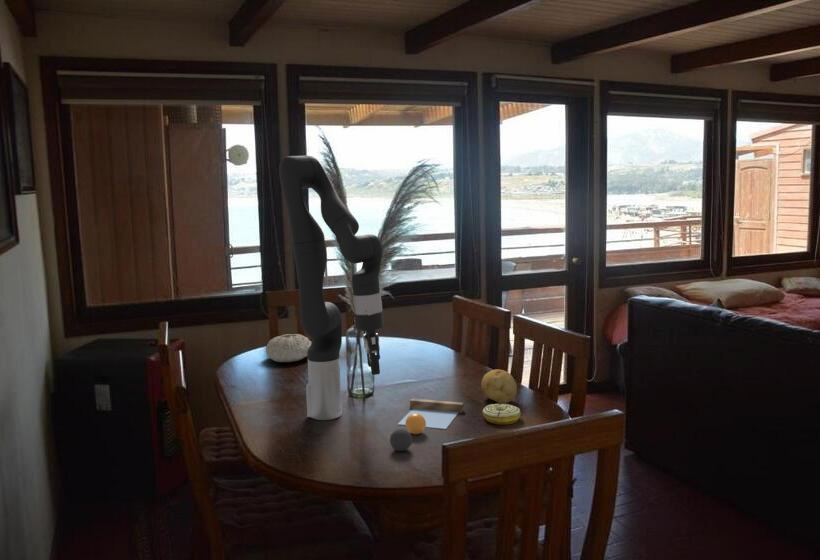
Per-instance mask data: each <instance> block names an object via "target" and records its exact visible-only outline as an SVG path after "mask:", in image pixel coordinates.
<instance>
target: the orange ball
mask: <svg viewBox="0 0 820 560" xmlns="http://www.w3.org/2000/svg"><path fill="white" fill-rule="evenodd" d="M405 425H406V426H405ZM405 425H404V426H405V428H406V430H407V431H408V432H409V433H410V434H412V435H419V434H421V433H422V432H424V430H425V429H426V421H425V419H424V417H423V416H422V415H420V414H418V413H413V414H411V415H409V416H408V417H407V419H406V423H405Z"/></svg>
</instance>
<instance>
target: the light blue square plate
mask: <svg viewBox="0 0 820 560" xmlns="http://www.w3.org/2000/svg"><path fill="white" fill-rule="evenodd" d="M413 413H418V414H420V415H422V416H423V417H424V419H425V421H426V427H425V429H426V428H427V429H439V430H447V429H448V427H449V426H450V425H451V424H452V422H453V421H454V420H455V418H456V417H457V416H458V415H459V414H460V413H459V412H451V411H440V410H429V409H417V408H413V409H410V411H409V412H408V413H407V414H405V416H403V418H402V419H401V420H400V421H399V422H398V423H397V426H405V427H406V425H405V423H406V419H407V417H408V416H409V415H411V414H413Z"/></svg>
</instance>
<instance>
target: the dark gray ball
mask: <svg viewBox="0 0 820 560" xmlns="http://www.w3.org/2000/svg"><path fill="white" fill-rule="evenodd" d="M412 442H413V438H412V435H411V433H410V432H409V431H408V430H407V429H405V428H397V429H395V430H393V432H392V433H391V435H390V436H389V443H390V446H391V447H392V448H393V450H395V451H398V452H404V451H407V450H409V448H410V447H411V445H412Z"/></svg>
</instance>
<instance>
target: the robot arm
mask: <svg viewBox="0 0 820 560" xmlns="http://www.w3.org/2000/svg"><path fill="white" fill-rule="evenodd" d="M278 167H279V168H278V172H279V173H278V174H279V175H278V176H279V181H280V186H281V191H282V194H283V198H284V203H285V206H286V211H287V215H288V216H287V217H288V223H289V227H290V229H289V230H290V234H291V236H290V237H291V244H292V250H293V257H294V258H293V259H294V262H295V269H296V275H297V277H296V278H297V284H298V293H299V309H300V311H299V312H300V313H299V314H300V323H301V328H302V330H303V331H304V333H305V334H306V335H307V336H309V337H310V338H312V341H311V342H312V343H311V345H310V347H309V349H308V351H307V356H306V357H307V372H308V373H307V375H308V376H307V377H308V383H307V384H306V386H305V389H306V390H305V392H306V393H305V394H306V396H305V397H306V413H307V414H306V417H307V418H311V419H314V420H316V421H317V420H318V421H331V420H335V419H337V418H340V417H341V416H342V414H343V413H342V411H343V409H342V408H343V407H342V387H341V386H342V384H341V361H340V359H341V358H340V356H341V355H340V351H341V348H342V345H343V343H342V342H343V341H342V340H343V339H342V338H343V335H342V334H343V333H342V332H343V331H342V330H343V326H342V325H343V323H342V322H343V321H342V314H341V312H340V309H339V308H338V306H337V305H336V304H334V303H332V302H330V301H325V297H324V296H325V295H324V280H325V279H324V278H325V274H326V268H327V263H328V262H327V261H328V252H327V245H326V238H325V234H324V232H323V231H324V230H323V229H322V228H321V226H320V225H319V223H318V221H317V220H316V219H315V218H314V216H313V215H312V214H311V212H310V211H309V209H308V207H307V206H306V203H305V199H304V195H303V190H305V189H312V190H313V191H314V192H316V194H317V195H318V197H319V198H320V214H321V217H322V219H323V221H324V223H325V224H326V226H327V227H328V228H329V230H330V231H331V232H332V233H333V234H334V236H335V238H336V241H337V243H338V246H339V249H340V252H341V255H342V257H343V258H344V259H345V260H346V261H348V263H350V264H362V265H361V269H359V270H358V271H356V272H355V273H353V274H352V276H351V283H352V284H351V285H352V297H353V299H352V300H353V301H352V302H353V303H352V305H353V313H354V314H353V315H354V324H355V325H354V326H355V329H356V330H357V331H362V332H363V335H362V340H363V346H364V349H365V353H366V360H367V366H368V367H370V371H371V372H370V373H371V375H372V376H376V375H380V374H381V369H380V359H381V355H380V354H381V353H380V350H381V348H380V347H381V346H380V335H379V334H378V333H376V330H380V329H382V328H383V327H384V326H385V325H384V324H385V321H384V313H383V301H382V296H381V288H380V280H379V275H380V272H381V271H380V270H381V263H382V258H383V246H382V241H381V240H380V238H379V237H378V236H377V235H375V234H373V233H367V234H359V235H356V234H357V233H358V231H359V229H360V225H359V222H358V221H357V219H356V217H354V215H353V214H352V213H351V212H350V210H349V209H348V207H347V206H346V205H345V204H344V202H343V201H342V199H341V198H340V197H339V194H338V193H337V191H336V189H335V188H334V185H333V183H332V182H331V180H330V178H329V176H328V174H327V172H326V171H325V168H324V167H323V166H322V163H321V162H320V160H319V159H318V158H317V157H315V156H313V155H309V154H308V155H289V156H288V155H287V156H284V157H282V158H281V160H280V163H279V166H278Z"/></svg>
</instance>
